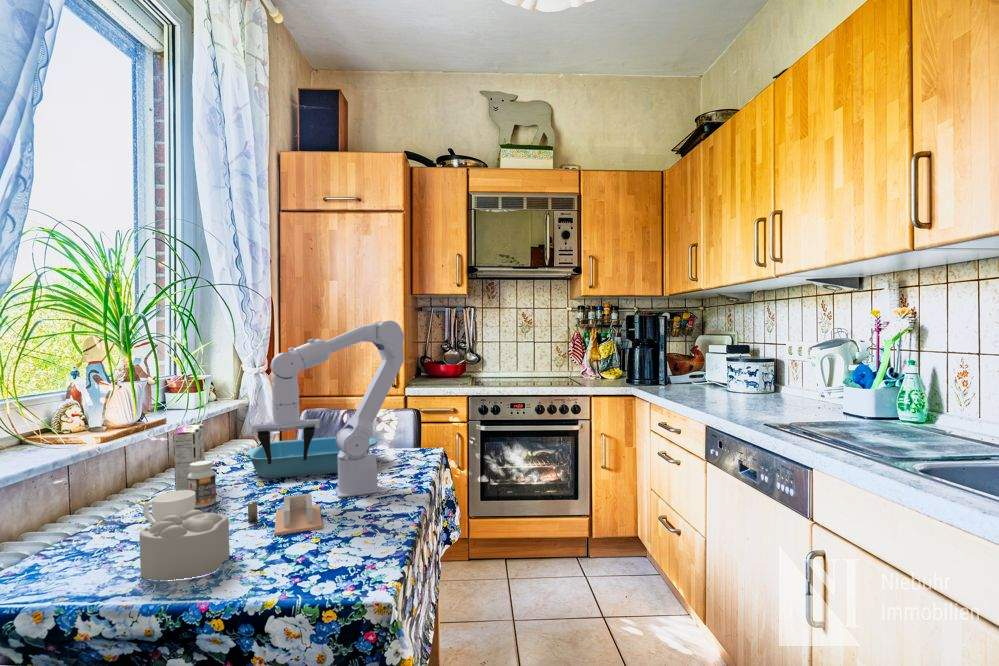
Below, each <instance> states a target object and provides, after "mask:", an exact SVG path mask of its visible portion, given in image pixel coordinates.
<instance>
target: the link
mask: <svg viewBox="0 0 999 666" xmlns="http://www.w3.org/2000/svg"><path fill="white" fill-rule="evenodd" d="M312 505H313V500H312V493H304V494H295V495H288V496H287V495H286V496H283V508H282V509H283V516H284V527H288V526H290V512H295V511H302V510H306V519H307V523H313V506H312Z"/></svg>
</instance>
